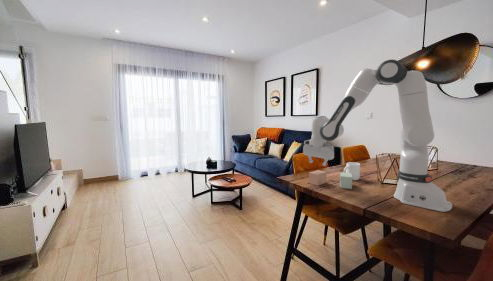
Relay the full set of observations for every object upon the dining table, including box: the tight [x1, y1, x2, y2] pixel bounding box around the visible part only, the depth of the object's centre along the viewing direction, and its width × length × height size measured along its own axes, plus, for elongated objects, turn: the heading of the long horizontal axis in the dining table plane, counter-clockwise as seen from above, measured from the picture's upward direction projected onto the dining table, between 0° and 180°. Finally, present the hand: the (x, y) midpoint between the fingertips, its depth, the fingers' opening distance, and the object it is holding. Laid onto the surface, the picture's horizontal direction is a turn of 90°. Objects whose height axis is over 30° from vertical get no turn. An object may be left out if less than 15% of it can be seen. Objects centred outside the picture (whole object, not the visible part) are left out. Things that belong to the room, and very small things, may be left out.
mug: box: [343, 161, 361, 181], centre depth 144 cm, size 12×8×10 cm
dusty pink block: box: [308, 169, 327, 187], centre depth 136 cm, size 6×9×7 cm
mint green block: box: [339, 172, 353, 190], centre depth 130 cm, size 6×9×7 cm
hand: (317, 164), depth 135 cm, fingers open, 8 cm apart
